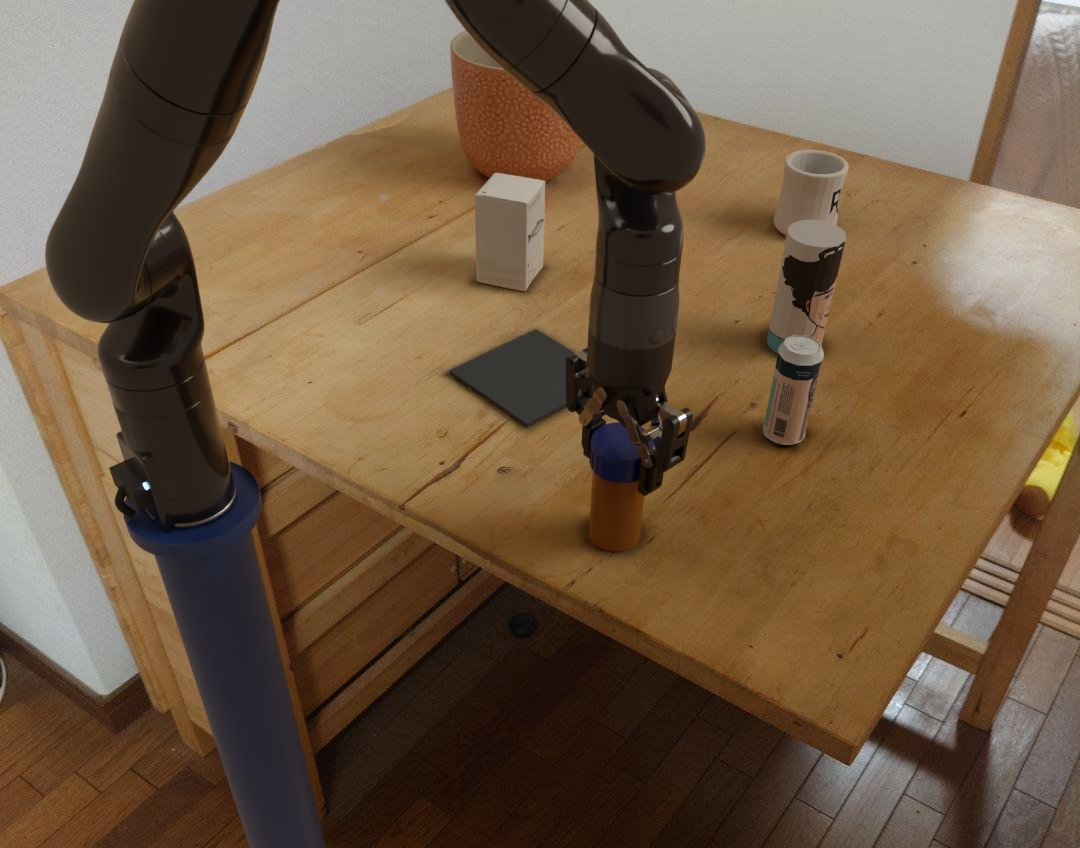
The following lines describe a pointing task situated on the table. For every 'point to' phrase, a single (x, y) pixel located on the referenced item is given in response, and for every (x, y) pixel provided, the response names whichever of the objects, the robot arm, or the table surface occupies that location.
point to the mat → (520, 377)
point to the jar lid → (615, 454)
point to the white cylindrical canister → (806, 281)
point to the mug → (810, 188)
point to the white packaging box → (509, 231)
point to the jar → (615, 514)
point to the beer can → (793, 389)
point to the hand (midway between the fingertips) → (620, 471)
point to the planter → (505, 119)
